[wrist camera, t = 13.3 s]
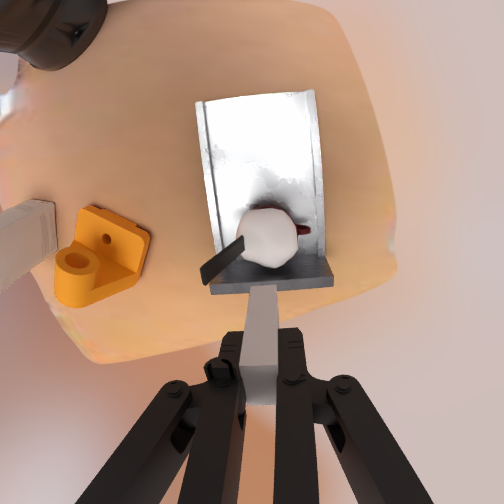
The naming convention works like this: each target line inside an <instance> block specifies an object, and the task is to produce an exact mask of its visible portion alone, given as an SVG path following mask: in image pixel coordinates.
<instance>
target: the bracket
mask: <svg viewBox="0 0 504 504" xmlns="http://www.w3.org/2000/svg"><path fill="white" fill-rule="evenodd" d="M149 242H150V236H149V234H148V233H147V232H146V231H144V230H142V229H140V228H138V227H137V224H135V223H133V222H131V221H129V220H127V219H125V218H123V217H121V216H119V215H117V214H114V213H112V212H110V211H108V210H106V209H102V210H100V209H98V208H96V207H94V206H92V205H89V206H87V207H85V208H82V209H80V210H79V212H78V218H77V224H76V230H75V237H74V241H73V242H72V244H71V246H70V247H67V248H64V249H62V250H60V251H59V252H58V253H57V254H56V257H55V275H54V294H55V296H56V298H57V300H58V301H59V302H60V303H62V304H63V305H65V306H68V307H72V308H82V307H86V306H88V305H90V304H93V303H95V302H97V301H100V300H102V299H104V298H107V297H109V296H111V295H114V294H116V293H118V292H121V291H123V290H125V289H128V288H130V287H132V286H134V285H135V284H136V283H137V281H138V280H139V278H140V274H141V270H142V267H143V263H144V259H145V256H146V252H147V249H148V246H149Z"/></svg>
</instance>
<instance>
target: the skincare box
mask: <svg viewBox="0 0 504 504" xmlns="http://www.w3.org/2000/svg"><path fill="white" fill-rule="evenodd" d="M57 250H58V246H57V236H56V224H55V206H54V203H53V202H47V201H40V200H34V199H30V200H28V201H25V202H23V203H21V204H19V205H16V206H14V207H12V208H10V209H7V210H5V211H3V212H1V213H0V294H1V293H2V292H3V291H4V290H6V289H7V288H8V287H9V286H10V285H12V284H13V283H14V282H15V281H17V280H18V279H19V278H20V277H22V276H23V275H24V274H25V273H27V272H28V271H29V270H31V269H32V268H33V267H35V266H36V265H37V264H39V263H40V262H41V261H43V260H44V259H45V258H47V257H48V256H50V255H51V254H52V253H54V252H55V251H57Z"/></svg>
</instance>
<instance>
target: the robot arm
mask: <svg viewBox="0 0 504 504" xmlns="http://www.w3.org/2000/svg"><path fill="white" fill-rule="evenodd" d="M106 11H107V0H0V52H7V53H14V54H17V55H19V56H20V57H22V58H23V59H25V60H26V61H28V62H29V63H30V65H32V66H33V67H34V68H36V69H40V70H45V71H55V70H58V69H61V68H63V67H65V66H66V65H68V64H69V63H71V62H72V61H73V60H75V59H76V58H77V57H78V56H79V55H80V54H81V53H82V52H83V51H84V50H85V49H86V48H87V47H88V45H89V44H90V43H91V42H92V40H93V39H94V37H95V36H96V34H97V33H98V31H99V29H100V27H101V25H102V23H103V21H104V18H105V15H106ZM204 371H205V374H206V377H207V380H208V381H206V382H204V383H201V384H197V385H192V386H188V384H187V383H186V382H183V381H180V380H174V381H170V382H168V383H166V384H165V385H164V386H163V387H162V388H161V389H160V391H159V392H158V393H157V395H156V396H155V397H154V399H153V400H152V402H151V403H150V404H149V406H148V407H147V408H146V410H145V411H144V412H143V414H142V415H141V416H140V418H139V419H138V420H137V422H136V423H135V424H134V426H133V427H132V428H131V430H130V431H129V433H128V434H127V435H126V436H125V438H124V439H123V440H122V442H121V443H120V445H119V446H118V447H117V449H116V450H115V451H114V453H113V454H112V455H111V457H110V458H109V459H108V461H107V462H106V463H105V465H104V466H103V467H102V469H101V470H100V471H99V473H98V474H97V475H96V476H95V478H94V479H93V480H92V482H91V483H90V485H89V486H88V487H87V488H86V490H85V491H84V492H83V494H82V495H81V496H80V498H79V499H78V500H77V502H76V503H75V504H159V503H160V501H161V500H162V498H163V496H164V495H165V493H166V491H167V490H168V488H169V486H170V485H171V483H172V481H173V480H174V478H175V476H176V474H177V473H178V471H179V469H180V468H181V466H182V464H183V462H184V461H185V459H186V457H187V456H188V454H189V458H188V462H187V466H186V470H185V474H184V478H183V483H182V487H181V491H180V495H179V499H178V503H177V504H237V498H238V490H239V481H240V472H241V461H242V453H243V444H244V435H245V425H246V410H245V405H246V402H247V405H276V437H275V438H276V439H275V469H274V496H273V504H319V489H318V471H317V457H316V444H315V432H314V423H317V424H323V426H324V428H325V431H326V433H327V435H328V437H329V440H330V442H331V444H332V446H333V448H334V451H335V453H336V455H337V457H338V460H339V462H340V464H341V466H342V469H343V471H344V473H345V475H346V477H347V480H348V482H349V484H350V486H351V488H352V491H353V493H354V495H355V497H356V499H357V502H358V504H434V503H433V502H432V500H431V498H430V496H429V495H428V493H427V491H426V490H425V488H424V486H423V485H422V483H421V481H420V480H419V478H418V476H417V474H416V473H415V471H414V469H413V468H412V466H411V465H410V463H409V461H408V460H407V458H406V456H405V455H404V453H403V451H402V450H401V448H400V447H399V445H398V443H397V442H396V440H395V439H394V437H393V435H392V434H391V432H390V431H389V429H388V427H387V426H386V424H385V423H384V421H383V419H382V418H381V416H380V415H379V413H378V412H377V410H376V408H375V407H374V405H373V404H372V402H371V400H370V399H369V397H368V396H367V394H366V393H365V391H364V389H363V388H362V387H361V385H360V383H359V382H358V381H357V380H356V379H355V378H354V377H352V376H349V375H338V376H335V377H333V378H332V379H331V380H330V381H325V380H320V379H316V378H314V377H312V376H311V375H310V374H309V372H308V371H307V366H306V358H305V350H304V342H303V335H302V332H301V331H300V330H299V329H298V328H283V329H279V313H278V299H277V286H276V285H264V286H251V289H250V295H249V302H248V309H247V315H246V322H245V329H244V331H232V332H228V333H227V334H226V335H225V336H224V337H223V339H222V343H221V347H220V352H219V356H218V357H216V358H213V359H211V360H209V361H208V362H207V363H206V364H205V366H204ZM189 452H190V453H189Z"/></svg>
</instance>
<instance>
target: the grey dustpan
mask: <svg viewBox="0 0 504 504" xmlns="http://www.w3.org/2000/svg"><path fill="white" fill-rule="evenodd" d="M195 107H196V116H197V125H198V133H199V141H200V149H201V157H202V164H203V172H204V179H205V186H206V193H207V200H208V207H209V213H210V220H211V226H212V233H213V239H214V245H215V251H216V255H217V254H218V253H219V252H220V251H222V250H223V249H224V248H226V247H227V246H228V245H229V244H231V243H232V242H233V241H235V238H236V231H237V228H238V225H239V222H240V219H241V218H242V217H243V215H244V214H245V213H246V212H247V211H248V210H251V209H253V208H256V207H259V206H262V205H272V206H278V207H280V208H281V209H283V210H284V211H286V212H288V213H289V214H290V216H291V217H292V219H293V221H294V222H295V224H300V225H306V226H309V227H310V228H311V233H309V234H306V235H298V242H297V243H298V250H297V251H296V253H295V254H294V255H293V257H292V258H290V259H289V260H288V261H286V263H285V264H284V265H282V266H280V267H277V268H271V267H265V266H263V265H260V264H258V263H256V262H252V261H248V260H245V259H244V258H243V257H242V255H241V254H240V255H239V256H238V257H237V258H236V259H235V260H234V261H233V262H232V263H230V264H229V265H228V266H227V267H226V268H225V269H224V270H223V271H222V272H220V273H219V274H218V275H217V276H216V277H215V278H214V279H213V280H212V281H211V282H210V284H209V287H210V292H211V295H218V294H238V293H250V289H251V286H264V285H276V286H277V291H285V290H298V289H311V288H322V287H333V285H334V275H333V273H332V271H331V269H330V266H329V264H328V262H327V259H326V257H325V220H324V196H323V178H322V163H321V150H320V139H319V128H318V119H317V110H316V102H315V94H314V90H306V91H305V92H284V93H271V94H260V95H250V96H242V97H234V98H227V99H220V100H214V101H208V102H203V101H199V102H195Z"/></svg>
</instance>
